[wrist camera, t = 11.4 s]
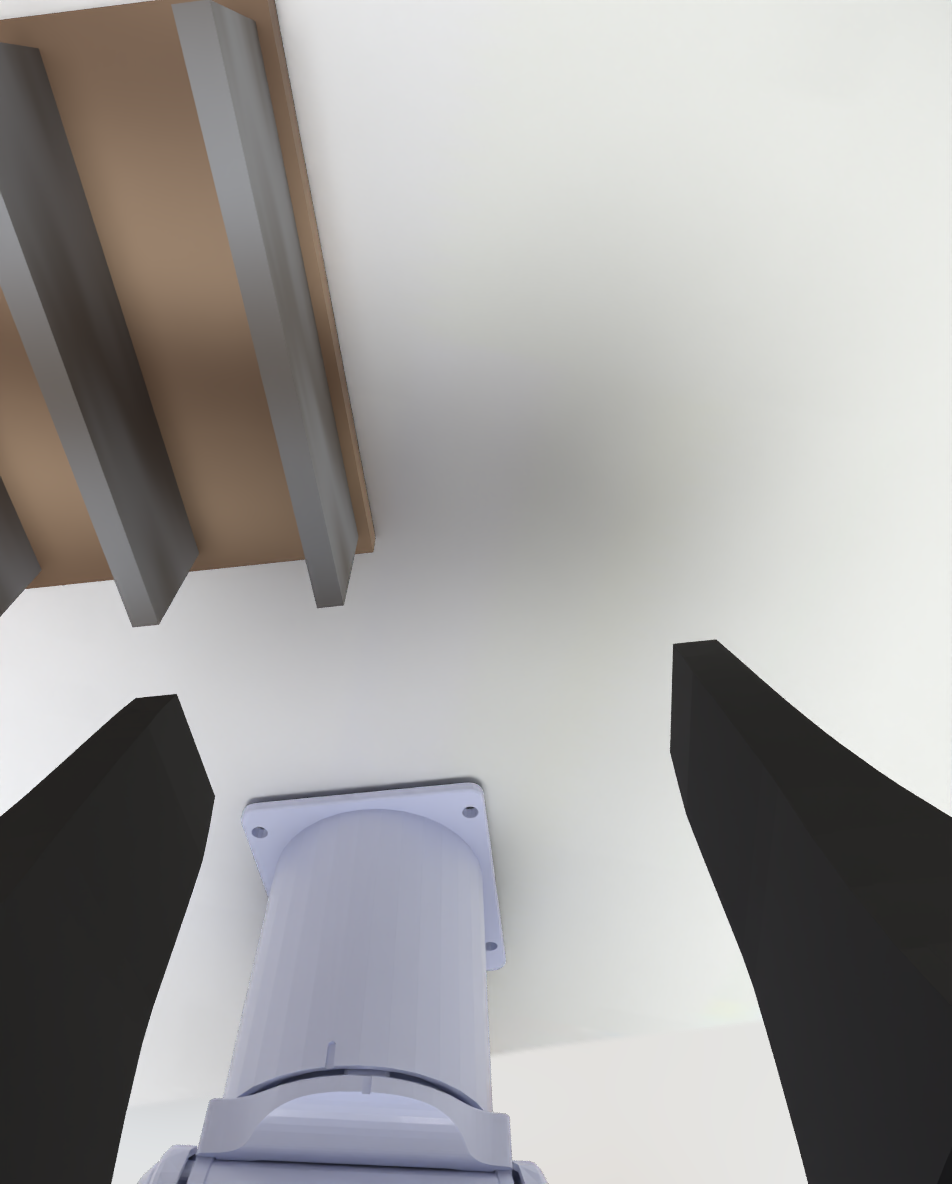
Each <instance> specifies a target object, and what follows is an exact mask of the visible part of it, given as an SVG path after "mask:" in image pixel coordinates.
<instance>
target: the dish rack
mask: <svg viewBox="0 0 952 1184" xmlns="http://www.w3.org/2000/svg"><path fill="white" fill-rule="evenodd" d="M375 539H376V538H375V533H374V527H373V522H372V517H371V512H370V506H369V501H368V496H367V490H366V485H365V480H364V474H363V469H362V464H361V458H360V453H359V448H358V442H357V437H356V432H355V426H354V421H353V416H352V410H351V405H350V400H349V395H348V389H347V384H346V379H345V373H344V368H343V363H342V357H341V352H340V347H339V341H338V336H337V331H336V325H335V320H334V315H333V309H332V304H331V299H330V293H329V288H328V283H327V278H326V272H325V267H324V262H323V256H322V251H321V246H320V240H319V235H318V230H317V224H316V219H315V214H314V208H313V203H312V198H311V192H310V187H309V182H308V176H307V171H306V166H305V161H304V155H303V150H302V145H301V139H300V134H299V129H298V123H297V118H296V113H295V107H294V102H293V97H292V91H291V86H290V81H289V75H288V70H287V65H286V59H285V54H284V49H283V44H282V38H281V33H280V28H279V22H278V17H277V12H276V6H275V1H274V0H155V1H147V2H139V3H131V4H123V5H115V6H107V7H100V8H92V9H84V10H76V11H68V12H60V13H52V14H44V15H36V16H28V17H20V18H12V19H4V20H0V616H1V615H2V614H3V613H4V612H5V611H6V610H7V609H8V607H9V606H10V605H11V604H12V603H13V602H14V601H15V600H16V598H17V597H18V596H19V595H20V594H21V593H22V592H23V591H24V589H30V588H39V587H49V586H58V585H67V584H77V583H86V582H96V581H105V580H115V583H116V586H117V588H118V591H119V593H120V596H121V598H122V601H123V604H124V606H125V609H126V611H127V614H128V617H129V619H130V622H131V624H132V627H140V626H150V625H159V623H160V622H161V620H162V618H163V616H164V615H165V613H166V611H167V609H168V608H169V606H170V604H171V602H172V601H173V599H174V597H175V595H176V593H177V592H178V590H179V588H180V586H181V585H182V583H183V581H184V579H185V578H186V576H187V574H188V572H191V571H200V570H210V569H219V568H229V567H238V566H247V565H257V564H266V563H276V562H285V561H295V560H304V559H305V560H306V564H307V568H308V572H309V576H310V580H311V585H312V589H313V593H314V597H315V601H316V605H317V608H323V607H333V606H342V605H344V602H345V597H346V593H347V588H348V583H349V579H350V574H351V569H352V564H353V560H354V555H355V554H361V553H371V552H373V550H374V545H375Z"/></svg>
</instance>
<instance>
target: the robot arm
mask: <svg viewBox="0 0 952 1184" xmlns="http://www.w3.org/2000/svg"><path fill="white" fill-rule="evenodd" d="M670 753H671V757H672V761H673V765H674V769H675V773H676V777H677V781H678V785H679V789H680V793H681V796H682V800H683V804H684V808H685V811H686V815H687V817H688V820H689V823H690V825H691V828H692V830H693V833H694V836H695V838H696V841H697V843H698V846H699V848H700V851H701V853H702V856H703V858H704V861H705V863H706V866H707V868H708V871H709V873H710V876H711V878H712V881H713V883H714V886H715V888H716V891H717V893H718V896H719V898H720V901H721V903H722V906H723V908H724V911H725V913H726V916H727V918H728V921H729V923H730V926H731V928H732V931H733V933H734V936H735V938H736V941H737V943H738V946H739V948H740V951H741V953H742V956H743V959H744V962H745V965H746V967H747V970H748V973H749V976H750V979H751V982H752V984H753V987H754V990H755V994H756V997H757V1001H758V1004H759V1008H760V1011H761V1014H762V1018H763V1021H764V1025H765V1028H766V1031H767V1035H768V1038H769V1041H770V1045H771V1049H772V1052H773V1056H774V1059H775V1063H776V1066H777V1070H778V1073H779V1077H780V1080H781V1084H782V1088H783V1091H784V1095H785V1099H786V1102H787V1106H788V1110H789V1113H790V1117H791V1120H792V1124H793V1128H794V1131H795V1134H796V1139H797V1142H798V1146H799V1150H800V1154H801V1158H802V1161H803V1165H804V1169H805V1173H806V1177H807V1181H808V1184H952V817H950V816H949V815H947V814H945V813H944V812H942V811H941V810H939V809H937V808H936V807H934V806H932V805H931V804H929V803H928V802H926V801H924V800H923V799H921V798H919V797H918V796H916V795H915V794H913V793H911V792H910V791H908V790H906V789H905V788H903V787H902V786H900V785H899V784H897V783H896V782H894V781H893V780H891V779H890V778H888V777H887V776H885V775H884V774H882V773H881V772H879V771H878V770H876V769H875V768H873V767H872V766H871V765H869V764H868V763H866V762H865V761H864V760H862V759H861V758H859V757H858V756H857V755H855V754H854V753H853V752H851V751H850V750H848V749H847V748H846V747H844V746H843V745H841V744H840V743H839V742H837V741H836V740H835V739H833V738H832V737H831V736H829V735H828V734H827V733H826V732H824V731H823V730H822V729H821V728H819V727H818V726H817V725H816V724H814V723H813V722H812V721H811V720H809V719H808V718H807V717H806V716H804V715H803V714H802V713H801V712H799V711H798V710H797V709H796V708H795V707H793V706H792V705H791V704H790V703H789V702H787V701H786V700H785V699H784V698H783V697H781V696H780V695H779V694H778V693H777V692H776V691H774V690H773V689H772V688H771V687H770V686H769V685H768V684H766V683H765V682H764V681H763V680H762V679H761V678H759V677H758V676H757V675H756V674H755V673H754V672H753V671H752V670H750V669H749V668H748V667H747V666H746V665H745V664H744V663H743V662H741V661H740V660H739V659H738V658H737V657H736V656H735V655H733V654H732V653H731V652H730V651H729V650H728V649H727V648H725V647H724V646H723V645H722V644H721V643H720V642H718V641H717V640H707V641H697V642H687V643H677V644H673V668H672V704H671V740H670ZM214 799H215V795H214V793H213V790H212V787H211V785H210V782H209V779H208V777H207V774H206V771H205V768H204V766H203V763H202V760H201V758H200V755H199V752H198V750H197V747H196V744H195V742H194V739H193V736H192V734H191V731H190V728H189V726H188V723H187V720H186V718H185V715H184V712H183V710H182V707H181V704H180V701H179V699H178V696H177V694H172V695H162V696H153V697H143V698H135V699H134V700H133V701H132V702H130V703H129V704H128V705H127V706H125V707H124V708H123V709H122V710H120V711H119V712H118V713H117V714H116V715H115V716H114V717H112V718H111V719H110V720H109V721H108V722H107V723H106V724H104V725H103V726H102V727H101V728H100V729H99V730H98V731H97V732H96V733H94V734H93V735H92V736H91V737H90V738H89V739H88V740H87V741H86V742H85V743H83V744H82V745H81V746H80V747H79V748H78V749H77V750H76V751H75V752H74V753H72V754H71V755H70V756H69V757H68V758H67V759H66V760H65V761H64V762H62V763H61V764H60V765H59V766H58V767H57V768H56V769H55V770H53V771H52V772H51V773H50V774H49V775H48V776H47V777H46V778H45V779H43V780H42V781H41V782H40V783H39V784H38V785H37V786H36V787H34V788H33V789H32V790H31V791H30V792H29V793H28V794H27V795H25V796H24V797H23V798H22V799H21V800H20V801H18V802H17V803H16V804H15V805H14V806H12V807H11V808H10V809H9V810H8V811H6V812H5V813H4V814H3V815H2V816H0V1184H111V1182H112V1177H113V1172H114V1167H115V1163H116V1158H117V1153H118V1148H119V1143H120V1138H121V1133H122V1129H123V1124H124V1119H125V1115H126V1111H127V1106H128V1102H129V1098H130V1094H131V1089H132V1085H133V1081H134V1076H135V1072H136V1068H137V1064H138V1059H139V1055H140V1051H141V1047H142V1043H143V1039H144V1036H145V1032H146V1029H147V1026H148V1022H149V1019H150V1016H151V1012H152V1009H153V1006H154V1003H155V1000H156V997H157V994H158V991H159V988H160V985H161V983H162V980H163V977H164V974H165V971H166V968H167V965H168V962H169V959H170V956H171V953H172V950H173V948H174V945H175V942H176V939H177V936H178V933H179V930H180V927H181V924H182V921H183V918H184V916H185V913H186V910H187V907H188V904H189V901H190V898H191V895H192V892H193V889H194V886H195V883H196V880H197V877H198V873H199V870H200V867H201V864H202V861H203V856H204V852H205V847H206V842H207V837H208V833H209V827H210V821H211V816H212V810H213V804H214ZM466 807H475V808H473V809H466ZM241 823H242V826H243V828H244V831H245V834H246V837H247V840H248V842H249V845H250V848H251V851H252V854H253V856H254V859H255V862H256V865H257V868H258V870H259V873H260V876H261V879H262V882H263V884H264V887H265V890H266V893H267V896H268V898H269V899H268V904H267V908H266V912H265V917H264V921H263V925H262V930H261V934H260V938H259V943H258V947H257V951H256V956H255V960H254V965H253V969H252V973H251V978H250V982H249V986H248V991H247V995H246V999H245V1004H244V1008H243V1012H242V1017H241V1021H240V1026H239V1030H238V1034H237V1039H236V1043H235V1047H234V1052H233V1056H232V1060H231V1065H230V1069H229V1073H228V1078H227V1082H226V1086H225V1091H224V1095H223V1098H214V1099H212V1100H210V1101H209V1104H208V1108H207V1113H206V1116H205V1121H204V1125H203V1129H202V1133H201V1137H200V1142H199V1146H198V1149H197V1146H191V1145H174V1146H171V1147H170V1148H169V1149H168V1150H167V1151H166V1152H165V1153H164V1154H163V1156H162V1157H161V1159H160V1161H158V1162H157V1163H156V1164H155V1165H154V1166H153V1167H152V1168H150V1169H149V1170H148V1171H147V1172H146V1173H145V1174H144V1175H143V1176H142V1177H141V1178H140V1180H139V1181H138V1183H137V1184H548V1182H547V1181H546V1178H545V1176H544V1174H543V1173H542V1171H541V1169H540V1168H539V1167H538V1166H537V1165H536V1164H535V1163H534V1162H531V1161H512V1150H511V1134H510V1118H509V1116H508V1115H507V1114H503V1113H494V1112H493V1110H492V1087H491V1064H490V1041H489V1019H488V996H487V973H486V971H491V970H497V969H500V968H502V967H503V966H504V965H505V962H506V955H505V947H504V940H503V932H502V925H501V917H500V910H499V903H498V895H497V888H496V880H495V873H494V866H493V858H492V851H491V843H490V836H489V829H488V821H487V814H486V806H485V799H484V792H483V790H482V788H481V787H480V786H479V785H477V784H475V783H467V782H466V783H456V784H446V785H436V786H425V787H415V788H405V789H394V790H384V791H374V792H364V793H353V794H343V795H333V796H322V797H312V798H302V799H291V800H281V801H271V802H261V803H253V804H249V805H248V806H246V807H245V808H244V810H243V813H242V816H241ZM257 827H262V828H264V829H259V828H257Z"/></svg>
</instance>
